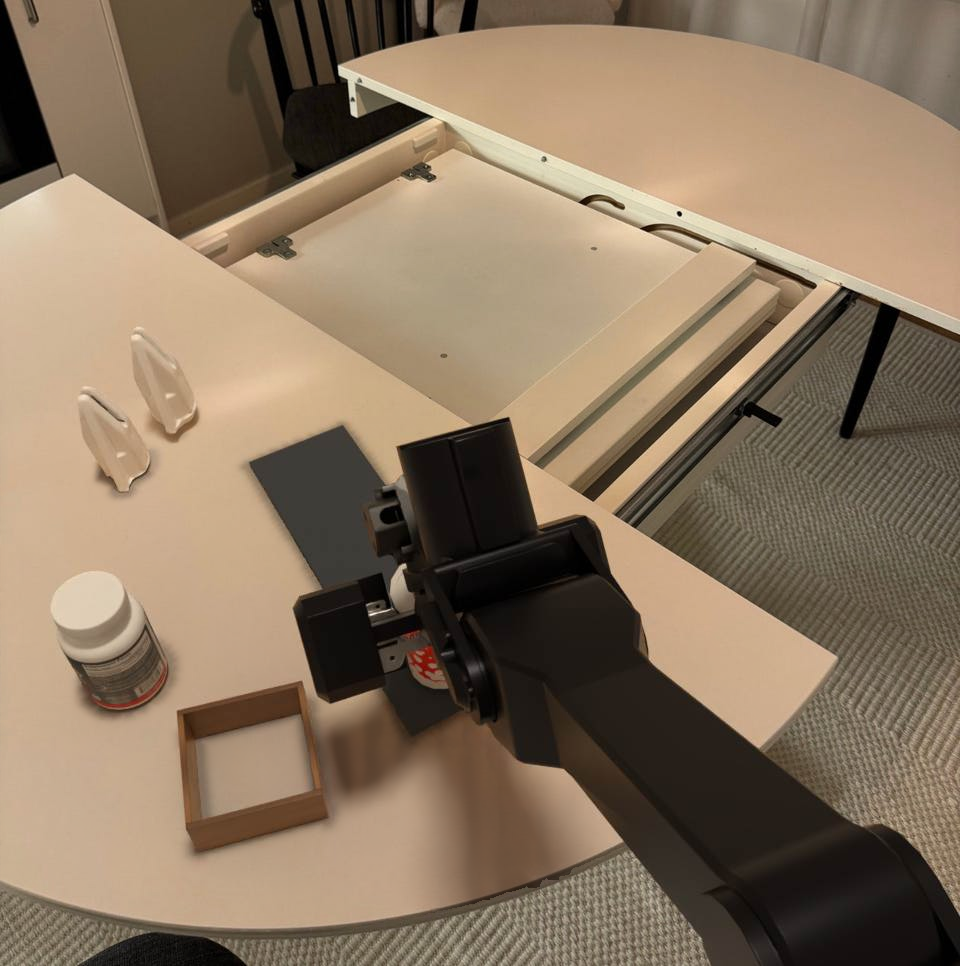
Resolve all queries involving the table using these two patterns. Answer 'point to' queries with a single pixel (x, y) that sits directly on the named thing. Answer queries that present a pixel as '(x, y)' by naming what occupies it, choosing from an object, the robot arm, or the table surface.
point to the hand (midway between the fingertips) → (431, 588)
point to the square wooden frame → (231, 717)
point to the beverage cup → (424, 658)
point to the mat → (343, 540)
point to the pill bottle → (108, 640)
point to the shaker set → (113, 428)
